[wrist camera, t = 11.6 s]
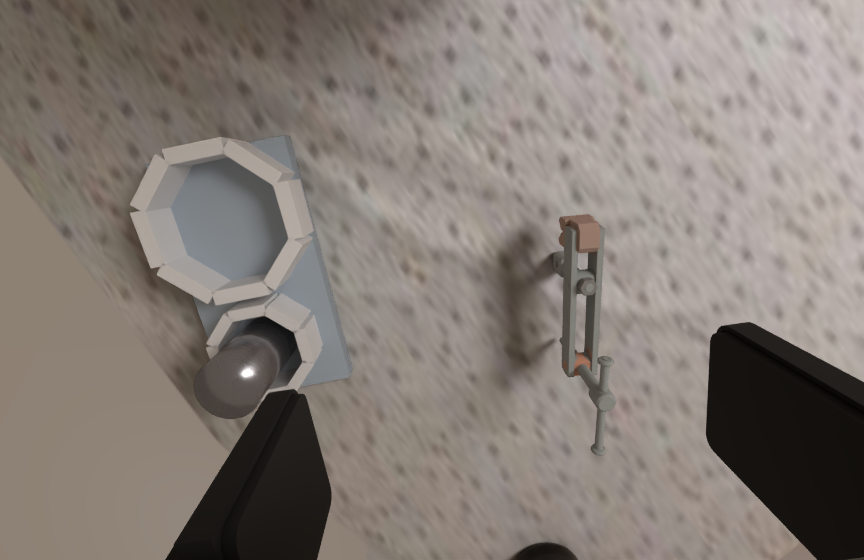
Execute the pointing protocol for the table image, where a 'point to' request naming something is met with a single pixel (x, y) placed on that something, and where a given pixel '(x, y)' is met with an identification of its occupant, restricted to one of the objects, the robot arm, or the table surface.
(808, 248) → the table surface
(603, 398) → the clamp
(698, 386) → the table surface
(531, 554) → the supplement bottle
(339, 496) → the table surface
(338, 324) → the fitting plate
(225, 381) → the grey cylinder
